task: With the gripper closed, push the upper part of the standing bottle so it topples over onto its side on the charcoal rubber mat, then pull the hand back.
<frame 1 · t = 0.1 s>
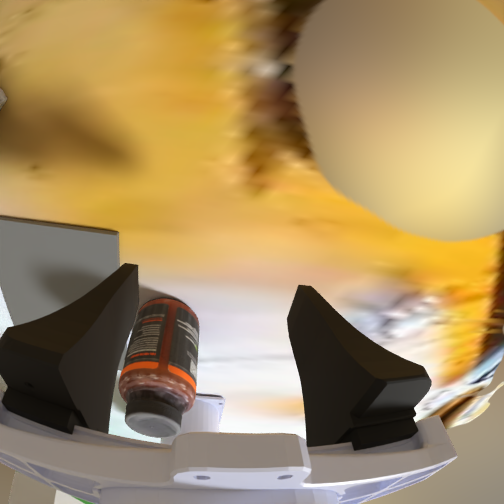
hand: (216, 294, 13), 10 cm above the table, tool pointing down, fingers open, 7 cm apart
supplement bottle: (169, 318, 27), on the table
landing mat: (56, 300, 24), on the table
hardback book: (81, 423, 38), on the table
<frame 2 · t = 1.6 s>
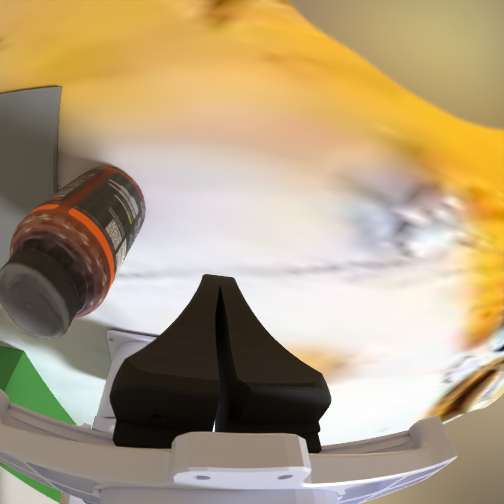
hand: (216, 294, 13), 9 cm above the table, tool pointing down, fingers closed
supplement bottle: (110, 204, 19), on the table
hardback book: (34, 388, 30), on the table
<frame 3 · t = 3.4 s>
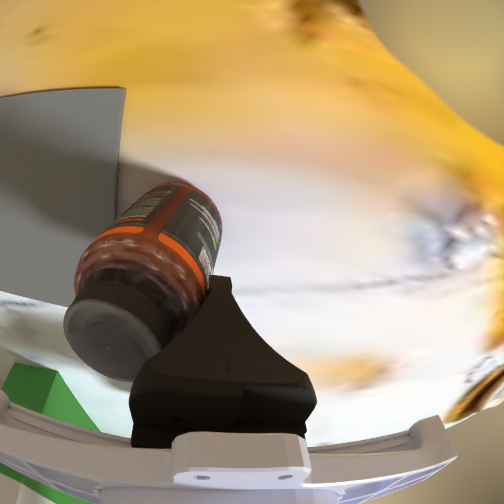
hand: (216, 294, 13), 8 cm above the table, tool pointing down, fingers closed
supplement bottle: (179, 223, 19), on the table, touching gripper
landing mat: (31, 206, 17), on the table
hardback book: (64, 406, 30), on the table
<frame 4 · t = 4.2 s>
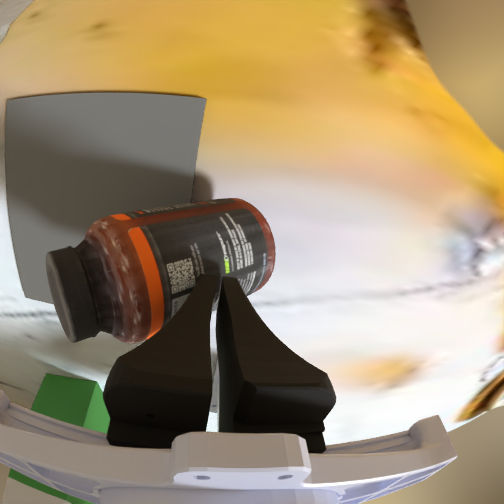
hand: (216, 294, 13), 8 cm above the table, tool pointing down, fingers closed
supplement bottle: (244, 245, 18), point 2 cm above the table, touching gripper
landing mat: (87, 214, 18), on the table
hardback book: (96, 416, 31), on the table
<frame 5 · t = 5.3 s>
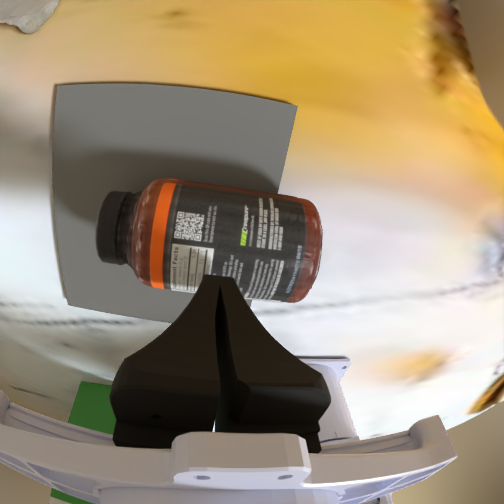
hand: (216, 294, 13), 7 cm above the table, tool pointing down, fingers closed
supplement bottle: (309, 253, 17), point 4 cm above the table, touching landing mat
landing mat: (154, 217, 19), on the table
hardback book: (131, 421, 32), on the table
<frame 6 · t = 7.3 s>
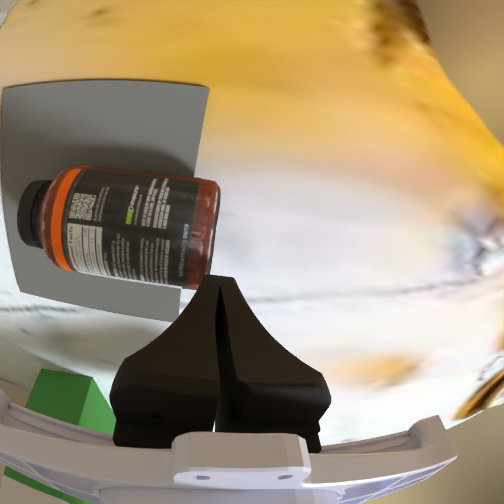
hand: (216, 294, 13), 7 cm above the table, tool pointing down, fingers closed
supplement bottle: (217, 238, 16), point 4 cm above the table, touching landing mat
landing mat: (83, 206, 18), on the table
hardback book: (92, 411, 31), on the table
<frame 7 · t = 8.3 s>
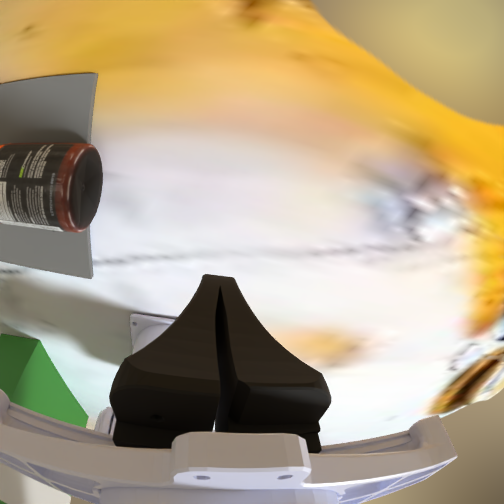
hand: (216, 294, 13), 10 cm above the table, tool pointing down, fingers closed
supplement bottle: (92, 189, 17), point 4 cm above the table, touching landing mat
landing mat: (18, 178, 19), on the table
hardback book: (46, 379, 32), on the table
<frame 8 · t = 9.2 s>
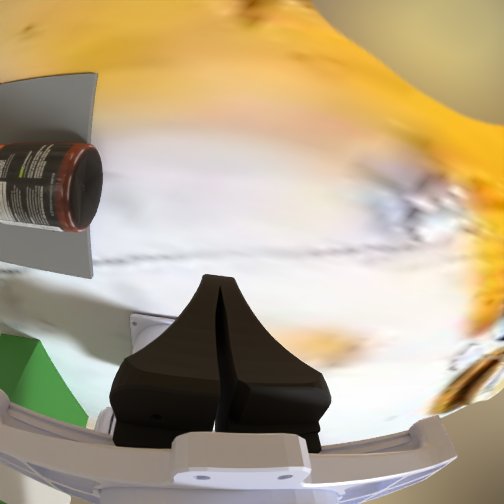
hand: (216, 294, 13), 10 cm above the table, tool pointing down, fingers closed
supplement bottle: (92, 189, 17), point 4 cm above the table, touching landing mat
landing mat: (18, 178, 19), on the table
hardback book: (46, 379, 32), on the table
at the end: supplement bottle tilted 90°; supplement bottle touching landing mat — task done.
